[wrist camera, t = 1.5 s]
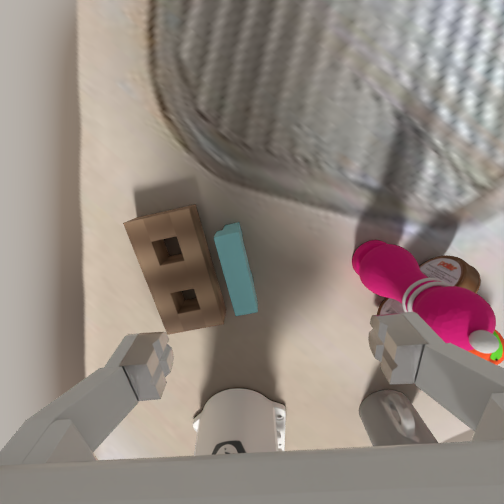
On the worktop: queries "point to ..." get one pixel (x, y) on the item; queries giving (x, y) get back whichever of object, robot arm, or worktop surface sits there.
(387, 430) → the coffee mug
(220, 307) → the slotted wooden block
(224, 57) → the worktop surface
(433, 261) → the tin
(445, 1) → the worktop surface
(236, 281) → the clip
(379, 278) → the pepper mill
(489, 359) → the clementine
